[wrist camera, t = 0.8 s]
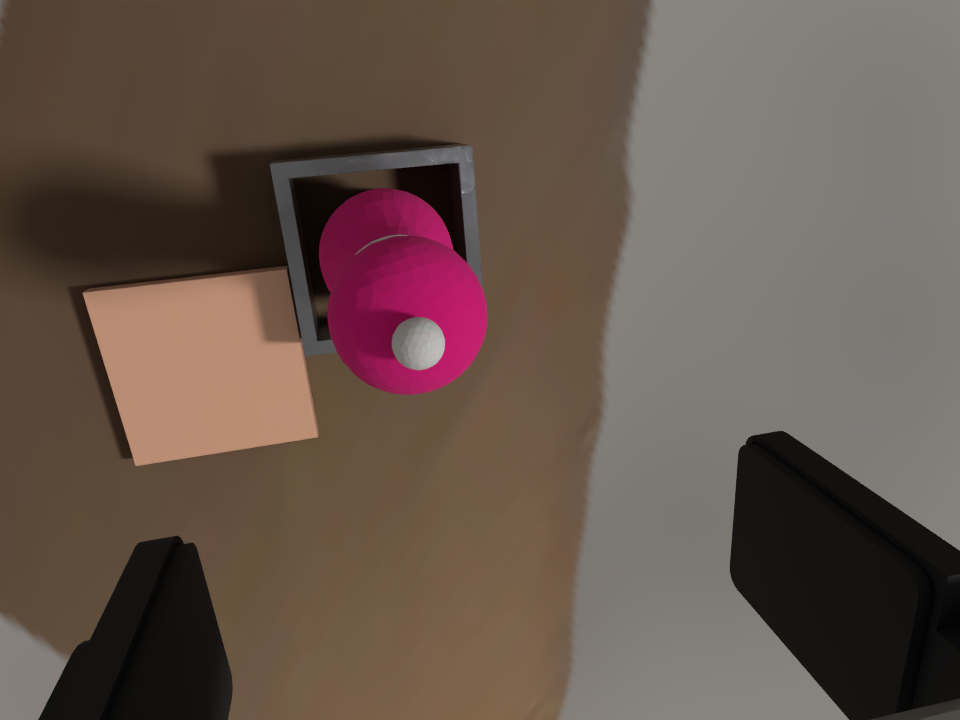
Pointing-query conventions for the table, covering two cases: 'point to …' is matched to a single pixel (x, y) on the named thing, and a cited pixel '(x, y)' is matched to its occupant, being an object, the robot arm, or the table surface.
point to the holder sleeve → (288, 169)
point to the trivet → (205, 363)
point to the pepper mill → (399, 293)
